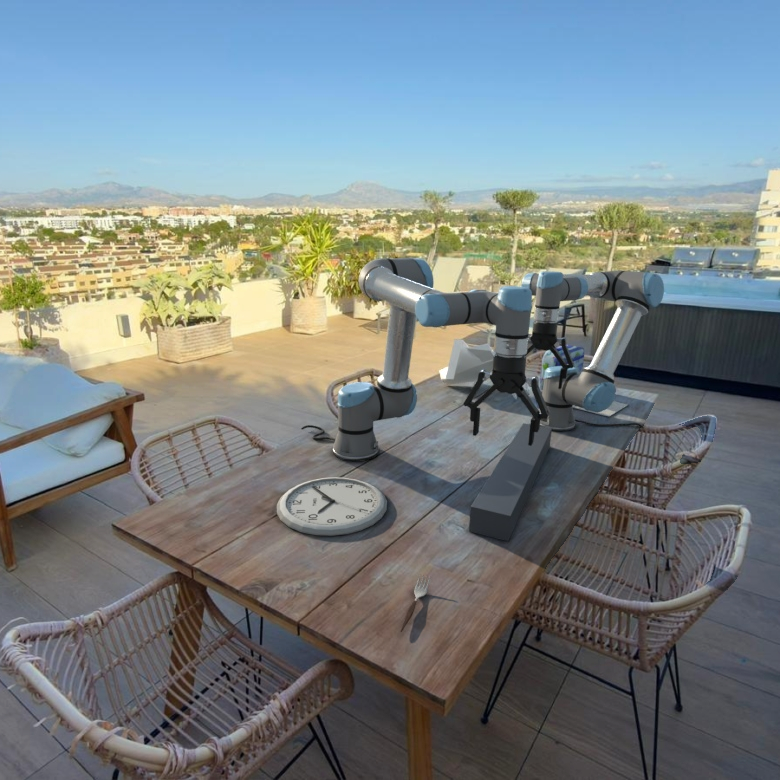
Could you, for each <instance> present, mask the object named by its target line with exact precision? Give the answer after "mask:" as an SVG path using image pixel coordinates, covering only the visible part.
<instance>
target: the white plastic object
mask: <svg viewBox="0 0 780 780" xmlns="http://www.w3.org/2000/svg"><path fill="white" fill-rule="evenodd" d="M495 354H496V353H495V352H494V349H493V348H492V347H491V346H490V344H489V343H488V342H487V343H483V344H479V345H473V346H469V345H468V343H466V342H465V340H464V339H463V338H460V339H458V338H454V340H453V344H452V349H451V353H450V357H449V362H448V366H446V367H444V368H442V369H440V370H439V371H438V372H439V376H440V381H442V383H443V384H444V385H445V386H449V385H458V384H467V383H468V384H469V383H473V384H476V382H477V380H478V375H479V373H480V372H481V371H482V370H485V371H486V372H489V373H492V370H493V357H494V355H495ZM528 387H529V386H528V383H525V384H524V385H523V388H524V389H525V391H526V393H527V395H528V396H529V397H530V396H531V395H530V390H529V388H528ZM511 395H512V397H513V398H514V399H515V400H517V398H518V396H517V394H516V393H514V394H511Z"/></svg>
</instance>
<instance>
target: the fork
mask: <svg viewBox="0 0 780 780" xmlns="http://www.w3.org/2000/svg"><path fill="white" fill-rule="evenodd" d="M420 577H421V573H420V574H419V576H418V579H417V583H416V585H415V586H414V591H413V594H414V595H415V599H414V600H413V602H412V603H411V605H409V608H408V609H407V610H406V613H405V617H404V620H403V623H402V625H401V629H400V633H402V632H403V631H404V629H405V627H406V625H408V622H409V621H410V619H411V618H412V616H413V614H414V611H415V608H416V605H417V601H418V599H419V598H422V597H425V596H426V595H427V593H428V589H429V584H430V580H431V576H429V578H428V580H427V577H428V576H427V575H425V579H424V574H422V578H420ZM420 579H421V581H420ZM423 580H424V582H423ZM426 583H427V584H426Z"/></svg>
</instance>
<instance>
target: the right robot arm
mask: <svg viewBox="0 0 780 780" xmlns="http://www.w3.org/2000/svg"><path fill="white" fill-rule="evenodd" d="M664 285H665V284H664V280H663V278H662V277H661V276H660V275H659V274H657V273H655V272H654V273H653V272H649V271H645V272H643V271H632V270H622V269H621V270H619V269H618V270H608V271H594V272H592V273H590V274H583V273H582V274H578V273H577V274H576V273H575V274H574V273H572V274H571V273H570V274H569V273H563V272H562V271H551V270H549V271H547V270H546V271H545V270H544V271H540V272H539V273H537V272H528V273H527V274H525V275H524V276H523V277H522V280H521V286H520V287H526V288H529V289H530V290H531V291H532V297H535V304H534V311H533V322H532V332H531V334H530V335H528V340H530V342H531V343H532V344H531V345H530V346H529V347H527V354H525V356H527V355H528V354H529V353H531V352H532V351H533V350H534V349H536V350H537V351H542V350H543V351H545V352H547V351H548V350H550V351H551V352H552V353H553V355H554V356H555V357H556V359H557V360H558V362H559V363H560V364H561V366H555V367H549V368H547V369H546V370H545V375H544V378H543V379H544V380H543V390H541V393H542V396H543V398H544V401H545V403H546V406H547V408H548V411H549V416H548V418H546V419H541V420H540V426H542V427H549V428H552V431H556V432H567V431H572V430H574V429H575V428H576V423H580V424H584V425H588V426H593V427H619V426H621V427H625V426H626V427H627V426H629V427H630V426H638V427H639V428H641V429H644V426H643V424H642V425H641V424H640V423H637V422H630V423H629V422H628V423H592V422H587V421H584V420H580V419H576V418H575V417H576V416H575V413H574V407H576V406H577V407H580V408H583V409H585V410H587V411H586V412H588V411H593V412H602V411H603V410H606V409H607V408H608V407H609V406H610V405H611V404H612V402H613V401H614V400H615V398H616V392H617V388H616V385H615V381H616V380H615V378H614V374H615V372H616V369H617V367H618V365H619V363H620V361H621V359H622V358H623V355H624V353H625V351H626V349H627V347H628V345H629V342H630V340H631V339H632V336H633V334H634V332H635V330H636V328H637V326H638V325H639V322H640V320H641V317H643V316H646V315H648V313H649V311H650V309H651V308H656V307H658V306H659V305H660V304H661V303H662V301H663V298H664V294H665V286H664ZM586 296H589V297H590V298H593V299H602V300H607V301H611V302H615V305H616V310H615V312H614V314H613V317H612V319H611V320H610V322H609V325H608V326H607V328H606V331H605V333H604V335H603V337H602V339H601V341H600V343H599V346H598V347H597V349H596V351H595V354H594V356H593V357H592V360H591V362H590V364H589V365H588V366H586V367H585V366H584V367H583V370H582V372H581V374H577V368H575V367H573V366H574V363H573V360H572V358H571V355H570V352H569V350H568V347H567V345H568V344H567V337H564V336H563V337H557V333H558V325H559V324H558V321H559V316H560V315H559V314H560V306H561V305H560V304H561V302H570V301H574V302H576V301H580V300H582V299H584V298H585V297H586ZM556 343H558V344H559V346H562V349H563V352H564V354H565V357H566V359H567V362H568V364H567V363H566V362H565V360H564V359H563V358H562V356H561V355H560V353H559V352H558V351H557V349H556V348H557V347H556V346H555V345H556ZM573 406H574V407H573ZM537 409H538V410H539V412H540V409H539V408H537Z"/></svg>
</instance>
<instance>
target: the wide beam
mask: <svg viewBox="0 0 780 780" xmlns="http://www.w3.org/2000/svg"><path fill="white" fill-rule="evenodd" d="M552 431H553V430H552V428H549V427H542V426H540V429H539V431H538V432H534V441H533V444H532V446H529V445H528V442H529V433H530V423H525V422H524V423H522V425H521V426H520V427H519V428H518V431H517V433H516V434H515V435H514V437H513V438H512V440H511V442H510V444H509V445H508V447H507V448H506V450H505V451H504V453H503V455H502V456H501V458H500V459H499V461H498V463H497V464H496V466H495V467H494V469H493V471H492V472H491V474H490V475H489V476H488V478H487V480H486V482H485V483H484V485H483V486H482V488H481V489H480V490H479V493H478V494H477V495H476V497H475V499H474V501H473V502H472V504H471V505H470V508H469V509H470V512H469V524H468V525H469V526H468V532H470V533H474V534H478V535H481V536H482V535H483V536H486V537H490V538H494V539H497V540H500V541H505V542H509V541H510V538H511V535H512V533H513V531H514V529H515V527H516V526H517V525H516V524H517V522H518V520H519V517H520V515H521V513H522V511H523V509H524V506H525V504H526V503H527V502H526V501H527V499H528V497H529V495H530V493H531V491H532V488H533V486H534V483H535V482H536V479H537V477H538V475H539V472H540V470H541V468H542V465H543V464H544V461H545V458H546V456H547V454H548V452H549V450H550V447H551V440H552Z"/></svg>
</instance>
